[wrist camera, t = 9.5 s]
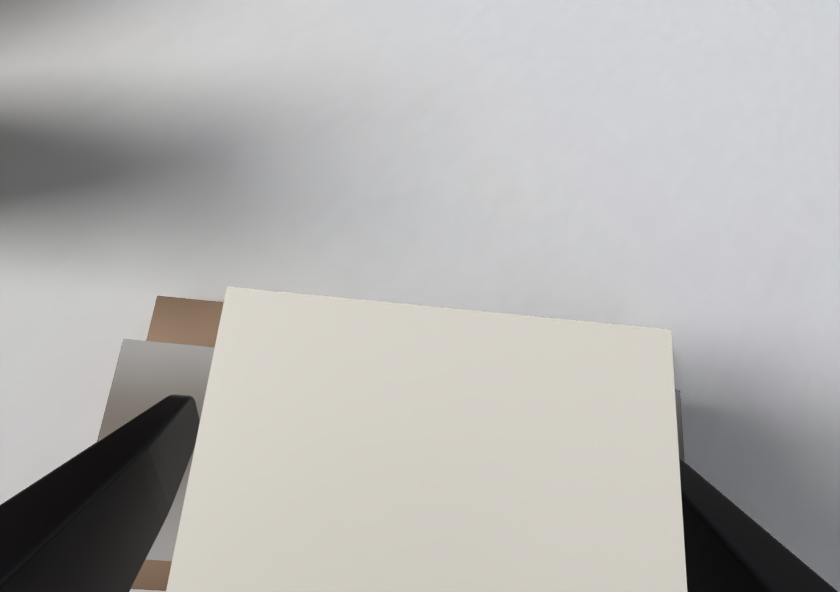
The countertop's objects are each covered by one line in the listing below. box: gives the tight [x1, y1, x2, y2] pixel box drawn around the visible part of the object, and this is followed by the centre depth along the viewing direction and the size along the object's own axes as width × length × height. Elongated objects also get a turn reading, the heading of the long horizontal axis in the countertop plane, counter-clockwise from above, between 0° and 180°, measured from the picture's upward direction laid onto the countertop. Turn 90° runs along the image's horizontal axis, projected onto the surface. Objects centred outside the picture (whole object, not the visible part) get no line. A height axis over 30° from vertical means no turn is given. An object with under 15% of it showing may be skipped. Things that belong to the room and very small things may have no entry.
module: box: [166, 287, 687, 592], centre depth 10 cm, size 6×5×12 cm
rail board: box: [97, 296, 684, 591], centre depth 15 cm, size 10×20×4 cm, turn 85°
